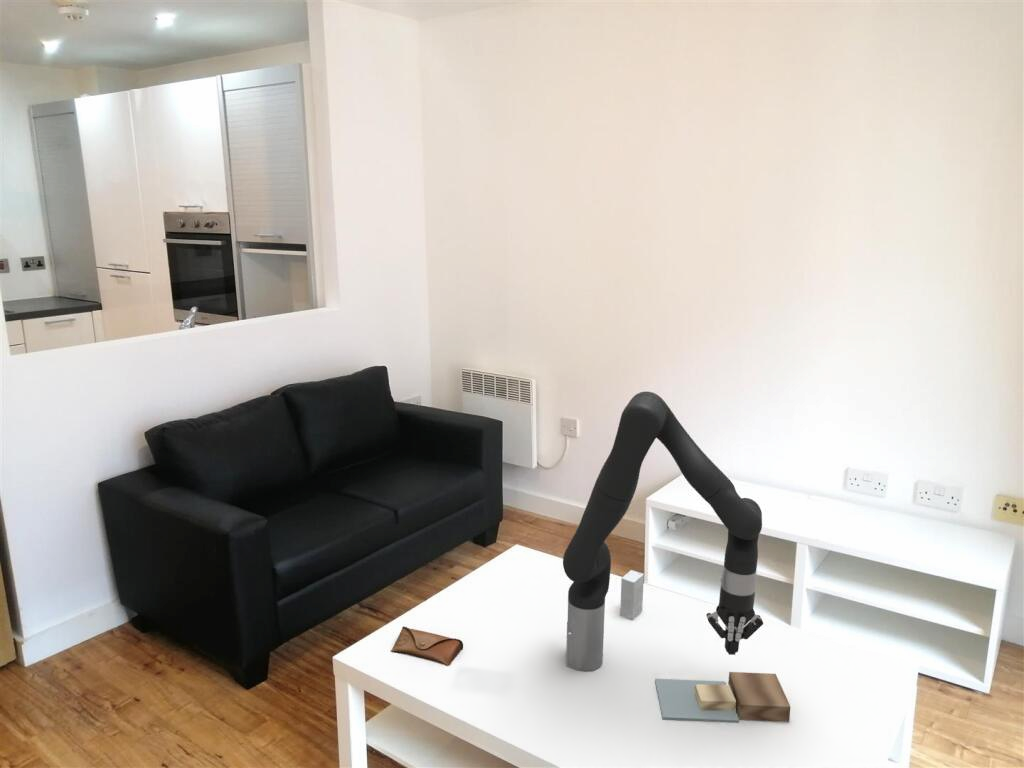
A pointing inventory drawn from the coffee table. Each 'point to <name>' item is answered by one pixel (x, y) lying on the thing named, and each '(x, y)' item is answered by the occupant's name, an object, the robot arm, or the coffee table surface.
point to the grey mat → (687, 702)
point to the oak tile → (715, 697)
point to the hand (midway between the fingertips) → (731, 652)
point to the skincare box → (631, 594)
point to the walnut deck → (759, 697)
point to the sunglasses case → (427, 646)
